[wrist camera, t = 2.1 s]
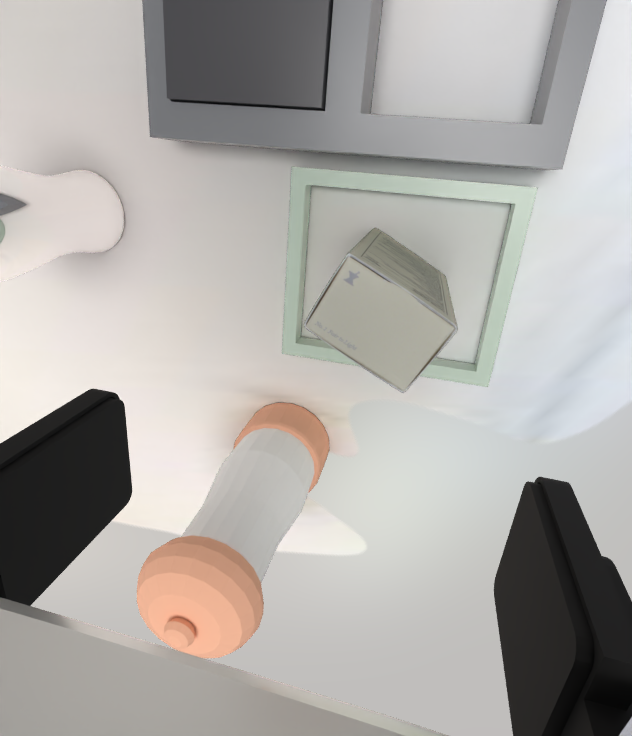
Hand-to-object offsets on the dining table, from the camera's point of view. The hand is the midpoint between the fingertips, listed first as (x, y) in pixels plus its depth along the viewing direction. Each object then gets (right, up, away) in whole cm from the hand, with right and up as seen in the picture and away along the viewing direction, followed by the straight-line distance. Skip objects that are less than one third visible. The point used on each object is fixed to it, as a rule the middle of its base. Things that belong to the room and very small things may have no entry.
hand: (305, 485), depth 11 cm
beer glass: (-17, +15, +26) cm, 34 cm away
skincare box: (+6, +9, +22) cm, 25 cm away
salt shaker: (-2, -3, +29) cm, 30 cm away
